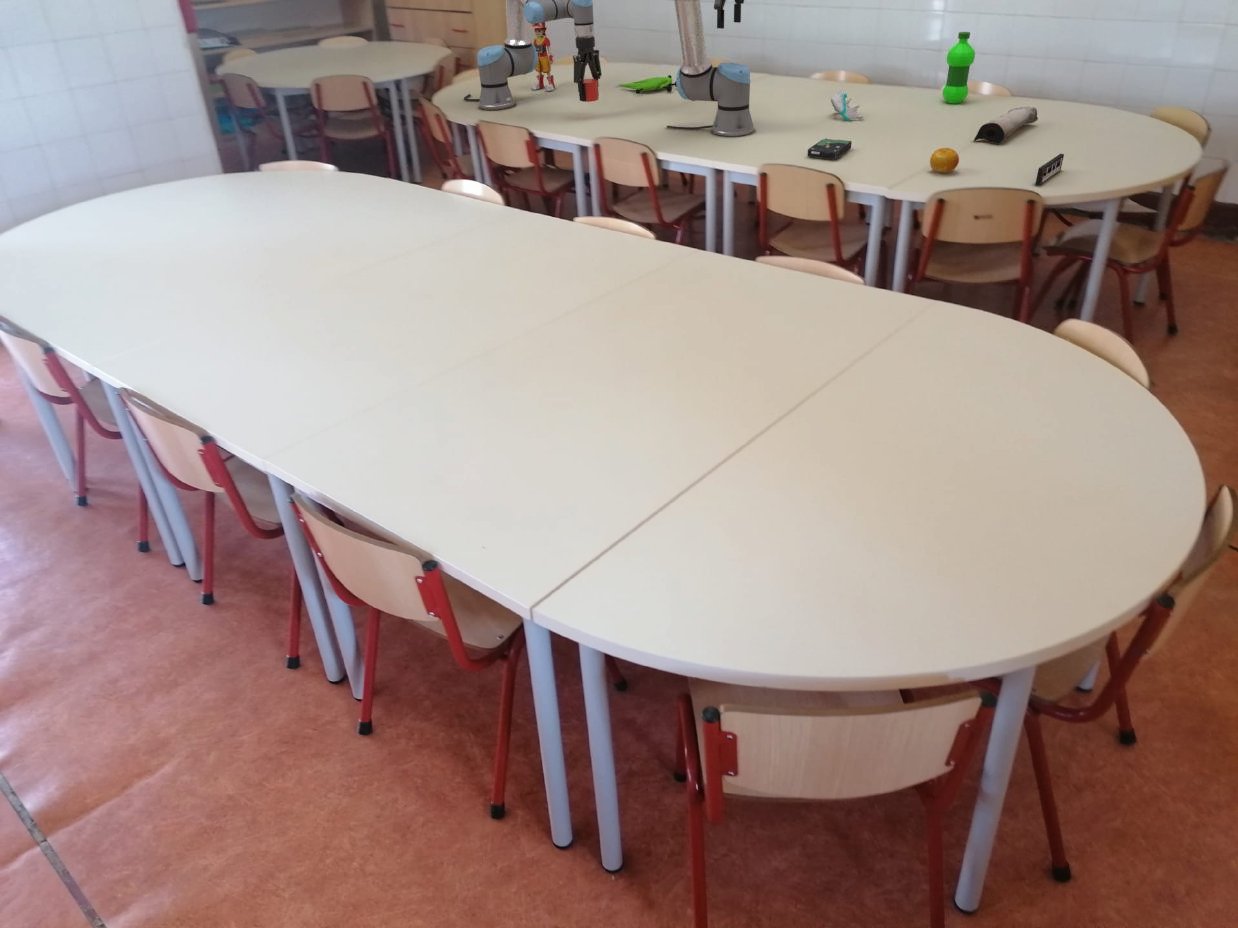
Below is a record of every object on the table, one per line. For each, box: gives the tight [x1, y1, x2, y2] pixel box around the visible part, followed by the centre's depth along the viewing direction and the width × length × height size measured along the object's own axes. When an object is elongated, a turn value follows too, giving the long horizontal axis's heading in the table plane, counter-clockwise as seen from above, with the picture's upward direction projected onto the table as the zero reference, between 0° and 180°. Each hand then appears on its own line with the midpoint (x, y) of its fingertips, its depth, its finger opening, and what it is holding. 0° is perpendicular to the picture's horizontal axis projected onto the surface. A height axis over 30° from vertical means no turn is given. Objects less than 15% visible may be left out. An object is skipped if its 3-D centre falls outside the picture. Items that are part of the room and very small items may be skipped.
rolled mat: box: [973, 106, 1039, 145], centre depth 314 cm, size 30×9×10 cm
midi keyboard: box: [1035, 153, 1065, 186], centre depth 273 cm, size 18×1×5 cm, turn 138°
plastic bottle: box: [942, 31, 976, 104], centre depth 348 cm, size 10×10×25 cm
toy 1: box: [529, 22, 556, 92], centre depth 403 cm, size 12×9×30 cm
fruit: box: [929, 147, 960, 174], centre depth 283 cm, size 8×8×8 cm
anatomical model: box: [830, 89, 864, 121], centre depth 343 cm, size 15×10×10 cm
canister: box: [582, 78, 600, 103], centre depth 358 cm, size 8×8×7 cm
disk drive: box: [807, 138, 852, 160], centre depth 306 cm, size 10×3×15 cm
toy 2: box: [617, 74, 677, 95], centre depth 401 cm, size 28×5×30 cm
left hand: (589, 98), depth 360 cm, fingers closed on canister, 7 cm apart
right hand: (729, 25), depth 349 cm, fingers open, 13 cm apart
